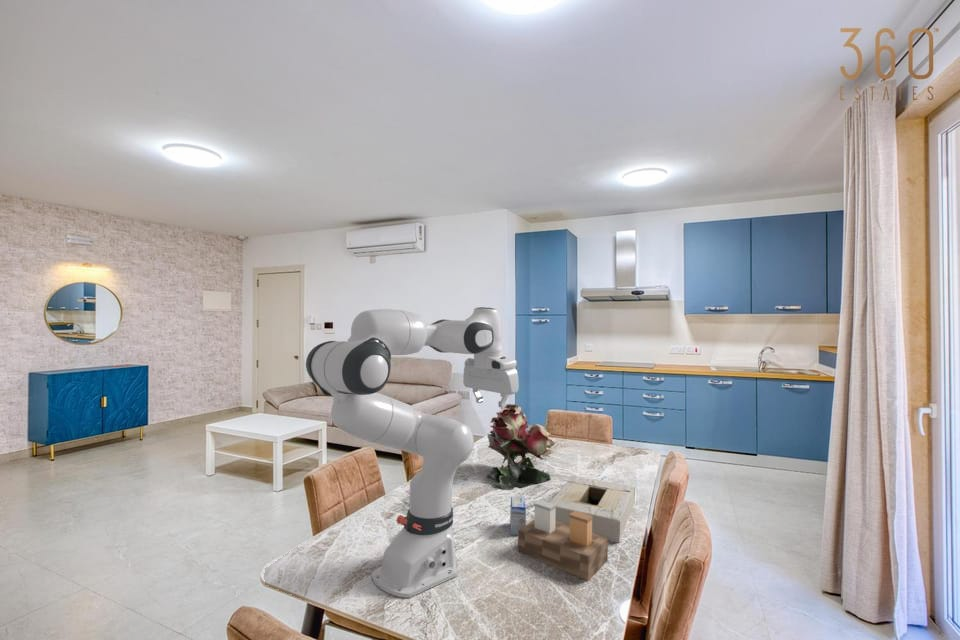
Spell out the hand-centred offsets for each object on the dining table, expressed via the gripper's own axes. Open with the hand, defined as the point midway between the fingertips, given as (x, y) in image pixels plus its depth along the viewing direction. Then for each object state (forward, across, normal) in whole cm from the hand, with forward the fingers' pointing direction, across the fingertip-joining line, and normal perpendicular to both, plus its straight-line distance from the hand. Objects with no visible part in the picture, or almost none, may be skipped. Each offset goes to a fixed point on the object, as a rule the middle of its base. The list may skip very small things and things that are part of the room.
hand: (490, 404), depth 133 cm
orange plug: (+36, +30, 0) cm, 47 cm away
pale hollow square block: (+42, +17, +30) cm, 54 cm away
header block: (+39, +24, 0) cm, 46 cm away
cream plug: (+36, +19, 0) cm, 41 cm away
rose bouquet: (+44, -25, +39) cm, 64 cm away
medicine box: (+39, +6, +3) cm, 40 cm away
